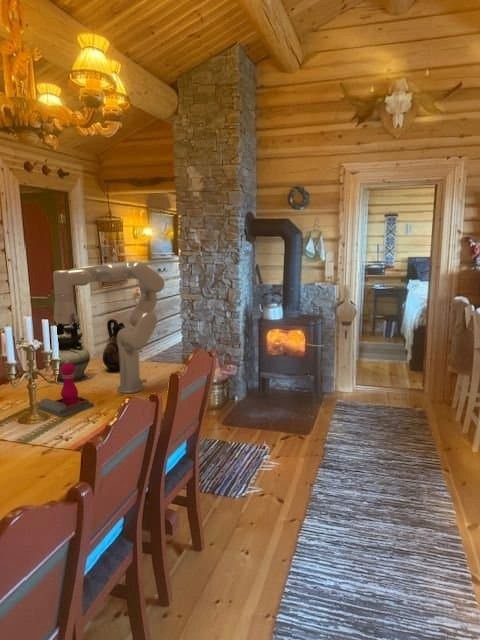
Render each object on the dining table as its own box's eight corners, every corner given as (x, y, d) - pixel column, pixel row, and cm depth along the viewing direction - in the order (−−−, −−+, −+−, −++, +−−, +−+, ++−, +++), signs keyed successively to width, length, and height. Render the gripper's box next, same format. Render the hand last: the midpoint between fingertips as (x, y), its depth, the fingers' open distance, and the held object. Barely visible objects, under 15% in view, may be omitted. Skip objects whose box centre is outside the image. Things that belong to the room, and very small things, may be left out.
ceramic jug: (135, 369, 266) (134, 319, 262) (116, 375, 253) (113, 322, 249) (115, 365, 275) (113, 316, 270) (95, 370, 262) (92, 320, 258)
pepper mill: (73, 406, 199) (70, 362, 196) (58, 405, 200) (55, 361, 197) (81, 400, 206) (78, 358, 203) (67, 399, 207) (64, 357, 204)
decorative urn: (67, 387, 233) (63, 321, 226) (41, 380, 244) (37, 316, 237) (99, 377, 250) (96, 315, 244) (74, 370, 261) (70, 311, 255)
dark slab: (69, 399, 213) (69, 389, 212) (93, 406, 203) (93, 396, 202) (38, 408, 200) (37, 399, 200) (62, 417, 190) (61, 407, 189)
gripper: (44, 298, 201) (48, 335, 204) (69, 300, 192) (72, 339, 195) (59, 296, 207) (62, 332, 210) (84, 298, 198) (87, 336, 201)
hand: (67, 335), depth 203 cm, fingers open, 9 cm apart
